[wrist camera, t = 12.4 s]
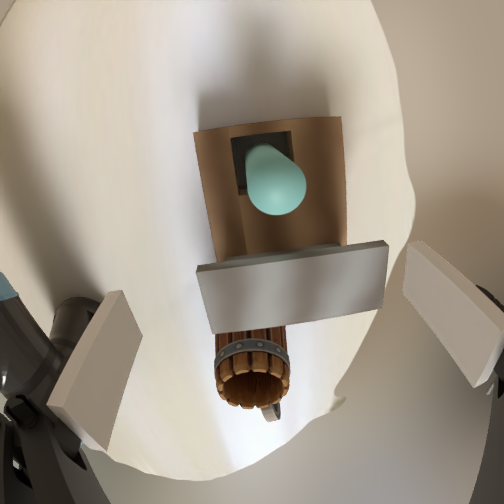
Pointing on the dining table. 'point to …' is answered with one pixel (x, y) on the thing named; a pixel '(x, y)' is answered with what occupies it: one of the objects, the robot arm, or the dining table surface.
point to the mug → (253, 369)
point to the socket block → (284, 236)
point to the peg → (273, 180)
